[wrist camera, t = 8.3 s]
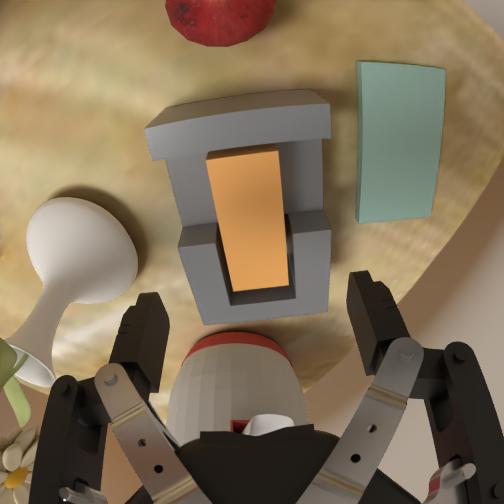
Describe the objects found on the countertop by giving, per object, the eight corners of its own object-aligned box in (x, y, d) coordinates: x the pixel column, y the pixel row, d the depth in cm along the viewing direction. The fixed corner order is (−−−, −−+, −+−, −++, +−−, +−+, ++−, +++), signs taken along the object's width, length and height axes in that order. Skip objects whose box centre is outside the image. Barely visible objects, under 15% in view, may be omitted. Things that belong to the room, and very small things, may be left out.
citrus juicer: (331, 322, 34) (368, 499, 18) (270, 393, 44) (279, 521, 28) (191, 290, 31) (169, 504, 15) (164, 374, 40) (149, 514, 24)
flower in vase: (115, 303, 32) (62, 539, 12) (27, 252, 27) (-75, 471, 7) (174, 217, 26) (106, 577, 6) (60, 148, 21) (-144, 441, 1)
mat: (356, 61, 18) (361, 62, 17) (438, 67, 18) (445, 69, 17) (355, 217, 26) (358, 224, 25) (425, 211, 26) (430, 216, 25)
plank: (209, 146, 19) (205, 160, 17) (273, 137, 19) (278, 150, 17) (233, 268, 25) (233, 291, 23) (285, 263, 25) (288, 285, 23)
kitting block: (165, 108, 20) (143, 128, 16) (309, 88, 20) (329, 103, 15) (208, 279, 30) (203, 325, 25) (315, 267, 29) (327, 311, 25)
